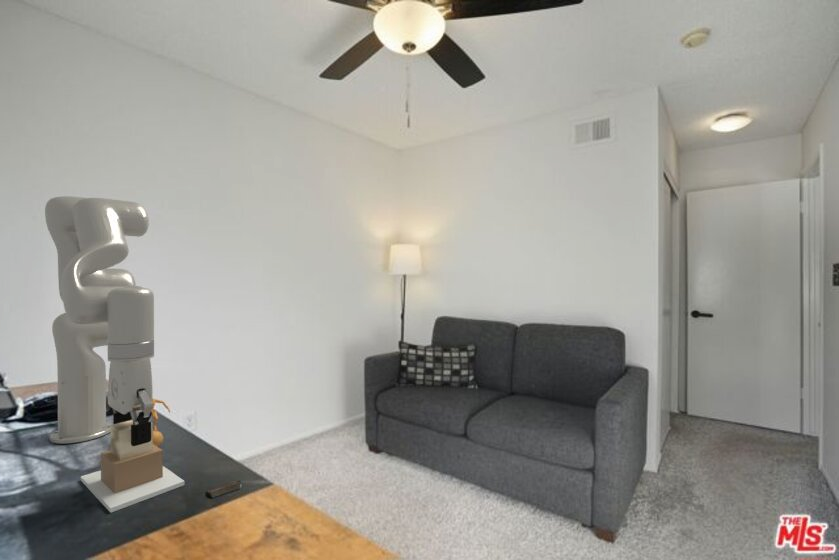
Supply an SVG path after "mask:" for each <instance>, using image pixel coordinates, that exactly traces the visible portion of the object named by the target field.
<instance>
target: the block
mask: <svg viewBox="0 0 839 560" xmlns="http://www.w3.org/2000/svg"><path fill="white" fill-rule="evenodd" d="M241 489H242V481H241V480H239V479H235V480H233V481H231V482H228V483H226V484H223V485H220V486H218V487H215V488H212V489H210V490H208V491H205V494H206V495H207V496H208V497H209V498H210V499H215V498H218V497H219V498H220V497H222V496H224V495H228V494H230V493H233V492H236V491H239V490H241Z"/></svg>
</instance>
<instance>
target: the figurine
mask: <svg viewBox="0 0 839 560" xmlns="http://www.w3.org/2000/svg"><path fill="white" fill-rule="evenodd" d="M156 403H157V404H162V405H163V406H164V407H165V408H166V409H167V411H168V412H169V414H171V409H170V408H169V406H168V405H167V403H165V401H163V400H160V399H157V398H153V396H152V409H151V411H152V412H151V413H152V415H151V417H152V420H153V419H154V421H153V444H154V445H155V446H157V447H159V446H160V445H161V444H162V443H163V440H164V436H163V433H162V432H161V431H159V430H158V428H157V425H156V424H158V420H159V416H158V414H157V412H158V411H157V410H156V409H155V410H154V408H155V406H156ZM139 407H141V406H139ZM134 408H137V407H134Z"/></svg>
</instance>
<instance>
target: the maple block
mask: <svg viewBox="0 0 839 560" xmlns="http://www.w3.org/2000/svg"><path fill="white" fill-rule="evenodd" d="M112 424H113V423H112ZM131 425H133V421H132V420H130V421H126V422H121V423H117V424H113V425H111V432H110V450H111V453H112V454H113V455H115V456H116V457H117V458H118V459H120V460H123V459H126V458H129V457H133V456H136V455H139V454H143V453H146V452H149V451H153V431H154V422H151V441H150V442H148V443H144V444H141V445H137V446H132V445H131Z"/></svg>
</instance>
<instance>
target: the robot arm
mask: <svg viewBox="0 0 839 560" xmlns="http://www.w3.org/2000/svg"><path fill="white" fill-rule="evenodd" d="M44 217H45V223H46V227H47V230H48V232H49V235H50V237H51V239H52V241H53V243H54V246H55V248H56V252H57V275H58V276H57V277H58V279H57V280H58V292H59V297H60V299H61V301H62V303H63V308H64V313H60V314H59V315H58V316H57V317H55V319H54V320H53V322H52V329H51V330H52V336H53V341H54V347H55V351H56V353H55V354H56V361H57V362H56V363H57V430H54V431H53V432H52V433H50V434H49V441H50V442H51V443H53V444H63V445H65V444H74V443H83V442H86V441H90V440H91V441H92V440H95V439H98V438H101V437H103V436H105V435H107V434H109V433H111V425H113V424H117V423H121V422H126V421H130V420H132V421H133V425H131V445H132V446H137V445H141V444H144V443H148V442H150V441H151V423H152V420H153V417H152V413H151V412H152V411H151V409H152V397H153V393H154V392H153V375H152V374H153V373H152V364H151V363H152V362H151V359H152V358H154V357H155V297H154V296H155V295H154V292H153V290H152V289H149V288H146V287H142V286H138V285H137V283H136V280H135V277H134V275H133V273H132V272H130V271H129V270H127V269H125V268H111V267H114V266H116V265H119V264H120V263H122V262H124V260H125V259H127V257H128V256H129V251H130V250H129V246H128V244H127V243H128V242H127V239H126V237H142V236H144V235H145V234H147V232H148V229H149V224H150V223H149V215H148V213H147V210H146V209H145V208H144V207H143V206H142V205H141V204H140V203H138V202H134V201H128V200H120V199H110V198H102V197H81V196H65V195H64V196H57V197H56V196H55V197H51V198H50V199H49V200H48V201H47V202H46V204H45V207H44ZM103 346H105V347H106V346H107V361H108V362H110V363H109V368H108V369H109V370H108V384H107V379H106V378H107V377H106V376H107V375H106V374H107V373H106V370H107V368H106V362H105V360H104V358H103V357H102V356H100V355H99V354H98V353H97V352H95V351H94V348H98V347H103ZM106 384H107V385H108V388H107V385H106ZM106 391H107V392H106ZM106 398H107V399H106ZM107 404H108V406H109V407H110V408H112V412H113V415H112V416H113V417H112V418H113V419H112V421H113V422H110V421H107ZM139 406H140V407H139ZM134 407H137V408H134ZM137 413H138V415H137Z"/></svg>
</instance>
